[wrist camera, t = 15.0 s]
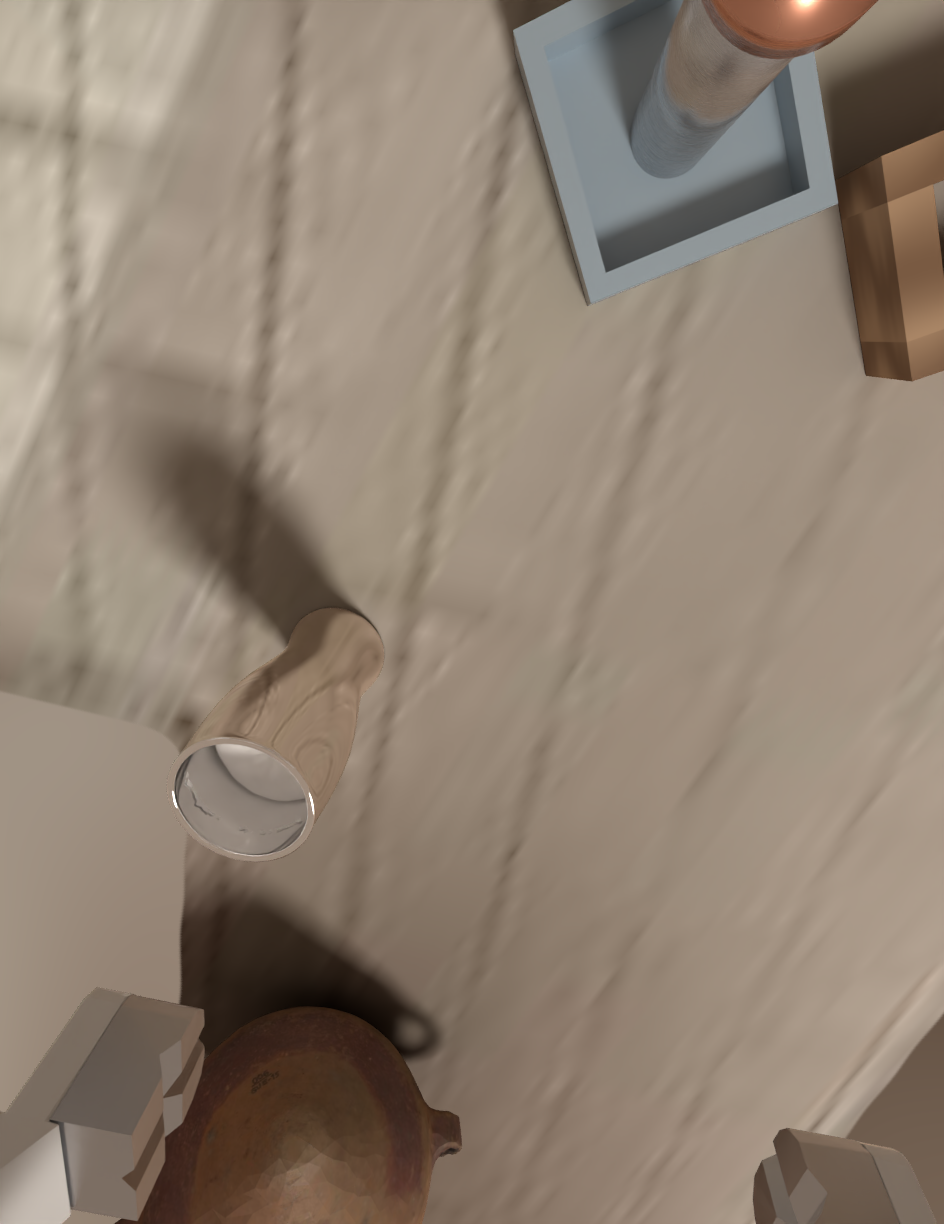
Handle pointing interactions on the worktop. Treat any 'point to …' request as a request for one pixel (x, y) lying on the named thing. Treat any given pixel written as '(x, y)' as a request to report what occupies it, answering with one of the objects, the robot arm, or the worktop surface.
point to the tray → (617, 186)
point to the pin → (724, 71)
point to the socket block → (897, 259)
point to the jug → (302, 1130)
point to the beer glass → (277, 741)
